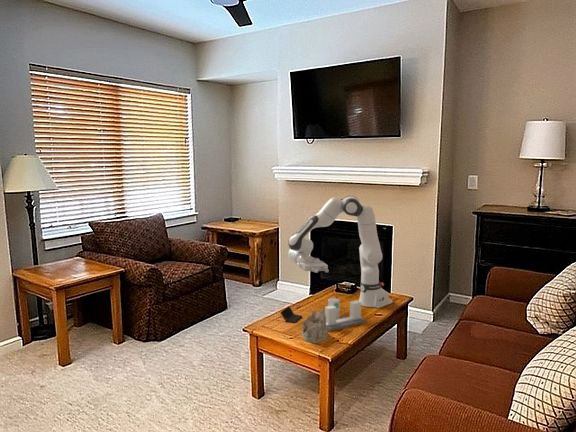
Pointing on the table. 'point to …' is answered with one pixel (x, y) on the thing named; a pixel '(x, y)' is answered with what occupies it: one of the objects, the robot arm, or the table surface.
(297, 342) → the table surface
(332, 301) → the block
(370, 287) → the robot arm
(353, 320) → the white u-shaped stand
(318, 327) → the stone castle model
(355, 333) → the table surface
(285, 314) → the handheld gaming console
